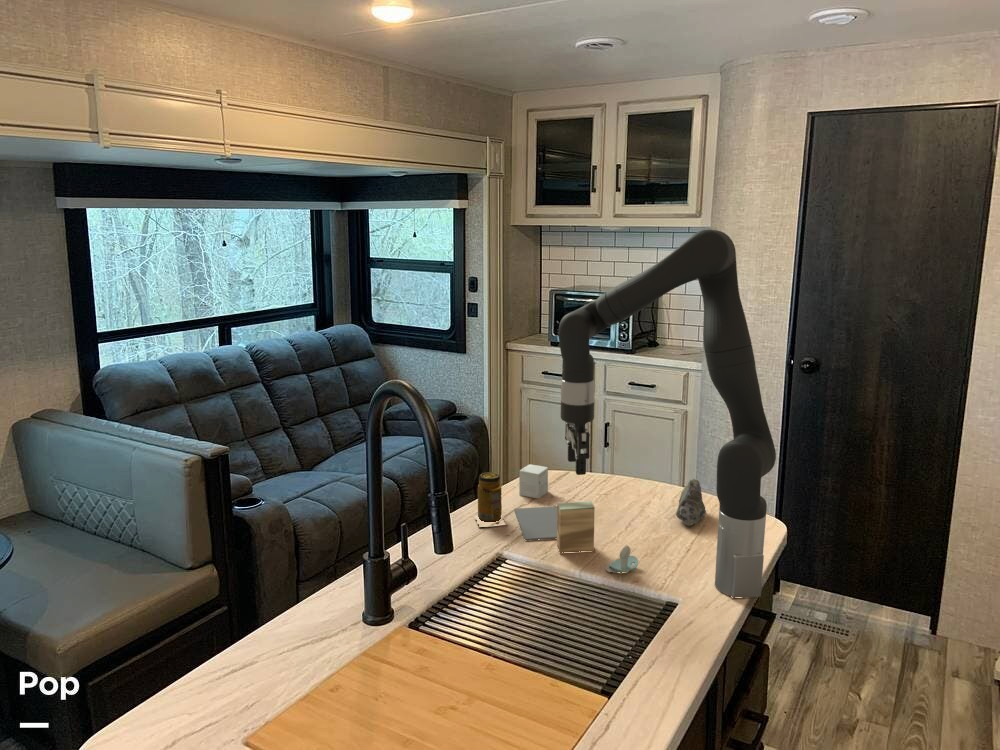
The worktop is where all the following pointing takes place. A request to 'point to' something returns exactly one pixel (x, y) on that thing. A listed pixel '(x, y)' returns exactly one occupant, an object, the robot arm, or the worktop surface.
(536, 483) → the product box
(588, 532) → the block
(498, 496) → the condiment
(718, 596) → the worktop surface
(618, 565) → the pacifier
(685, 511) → the mineral rock
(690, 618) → the worktop surface
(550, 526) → the mat
